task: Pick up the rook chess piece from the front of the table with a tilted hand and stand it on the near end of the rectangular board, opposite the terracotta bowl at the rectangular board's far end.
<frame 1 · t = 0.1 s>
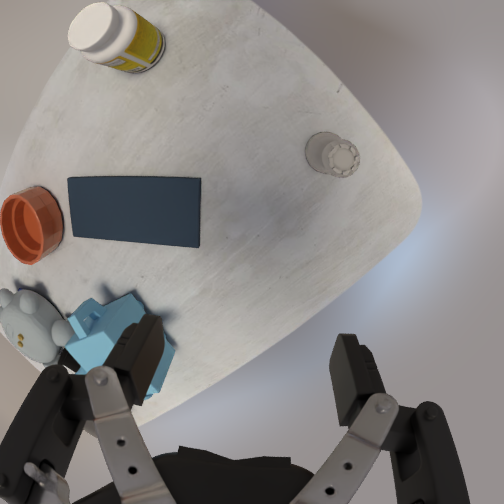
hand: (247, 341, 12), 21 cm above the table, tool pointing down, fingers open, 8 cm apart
teapot: (131, 324, 40), on the table
pill bottle: (141, 50, 24), on the table
rectangular board: (129, 208, 32), on the table
bowl: (41, 218, 33), on the table
rook chess piece: (325, 152, 29), on the table
figurine: (49, 321, 42), on the table
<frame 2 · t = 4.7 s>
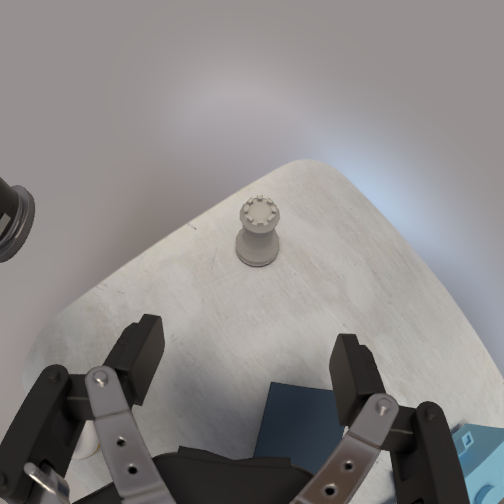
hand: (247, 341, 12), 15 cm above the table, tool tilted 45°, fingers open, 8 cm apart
teapot: (430, 477, 20), on the table
pill bottle: (108, 413, 23), on the table
rectangular board: (291, 469, 22), on the table
mug: (503, 500, 15), on the table
rook chess piece: (257, 247, 30), on the table
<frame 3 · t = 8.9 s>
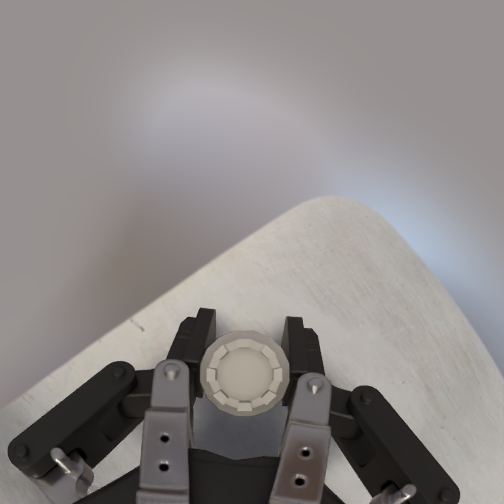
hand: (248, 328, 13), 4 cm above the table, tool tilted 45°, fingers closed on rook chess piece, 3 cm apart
rook chess piece: (245, 367, 16), on the table, touching gripper
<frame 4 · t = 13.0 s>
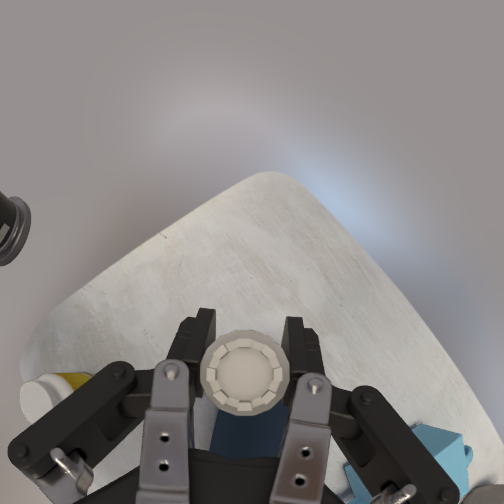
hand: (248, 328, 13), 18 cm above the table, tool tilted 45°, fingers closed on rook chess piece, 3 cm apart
teapot: (386, 473, 24), on the table
pill bottle: (91, 396, 27), on the table
rectangular board: (246, 453, 26), on the table
mug: (473, 502, 19), on the table
rook chess piece: (246, 367, 16), point 14 cm above the table, touching gripper
when the fingers open (5 cm above the table, at t = 17.6 s): rook chess piece stays where it is, resting on rectangular board.
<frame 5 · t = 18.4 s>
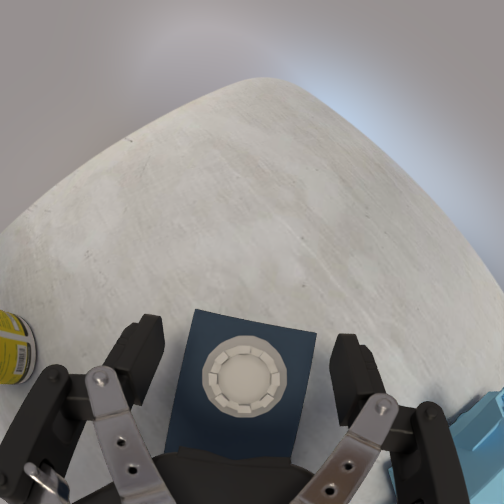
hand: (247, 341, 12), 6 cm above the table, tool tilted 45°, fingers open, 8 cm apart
teapot: (441, 472, 14), on the table
pill bottle: (17, 350, 17), on the table
rectangular board: (228, 449, 15), on the table
rook chess piece: (246, 370, 17), point 1 cm above the table, touching rectangular board
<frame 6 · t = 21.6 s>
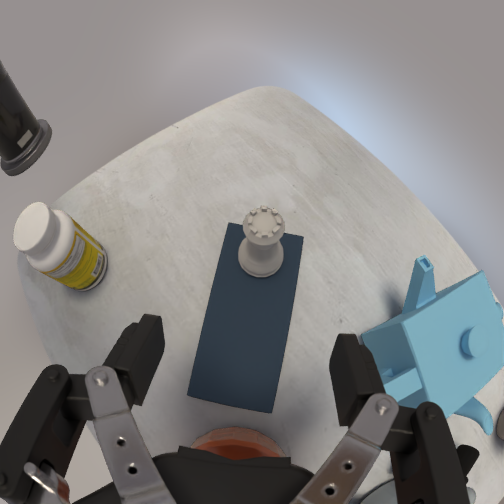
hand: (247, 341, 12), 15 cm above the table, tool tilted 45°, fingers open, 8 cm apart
teapot: (409, 358, 26), on the table
pill bottle: (87, 267, 29), on the table
rectangular board: (248, 315, 28), on the table
bowl: (235, 470, 22), on the table
rook chess piece: (260, 258, 29), point 1 cm above the table, touching rectangular board
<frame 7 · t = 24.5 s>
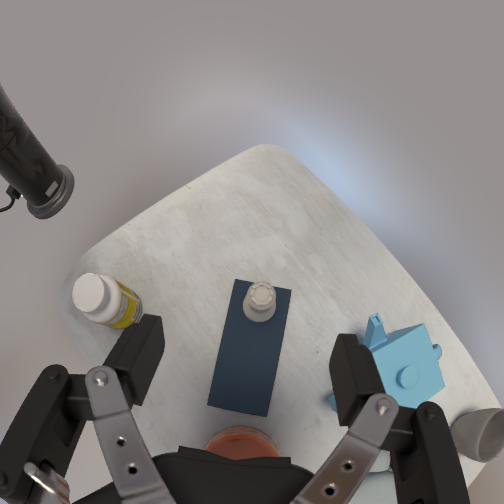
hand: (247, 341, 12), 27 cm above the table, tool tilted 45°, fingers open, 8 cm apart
teapot: (370, 379, 36), on the table
pill bottle: (124, 309, 39), on the table
rectangular board: (250, 348, 37), on the table
mug: (462, 434, 31), on the table
bowl: (241, 457, 32), on the table
rook chess piece: (259, 306, 39), point 1 cm above the table, touching rectangular board
figurine: (364, 492, 29), on the table
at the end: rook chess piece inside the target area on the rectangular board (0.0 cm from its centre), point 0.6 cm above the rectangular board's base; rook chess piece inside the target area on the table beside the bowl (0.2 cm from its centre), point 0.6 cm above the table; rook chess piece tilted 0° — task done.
